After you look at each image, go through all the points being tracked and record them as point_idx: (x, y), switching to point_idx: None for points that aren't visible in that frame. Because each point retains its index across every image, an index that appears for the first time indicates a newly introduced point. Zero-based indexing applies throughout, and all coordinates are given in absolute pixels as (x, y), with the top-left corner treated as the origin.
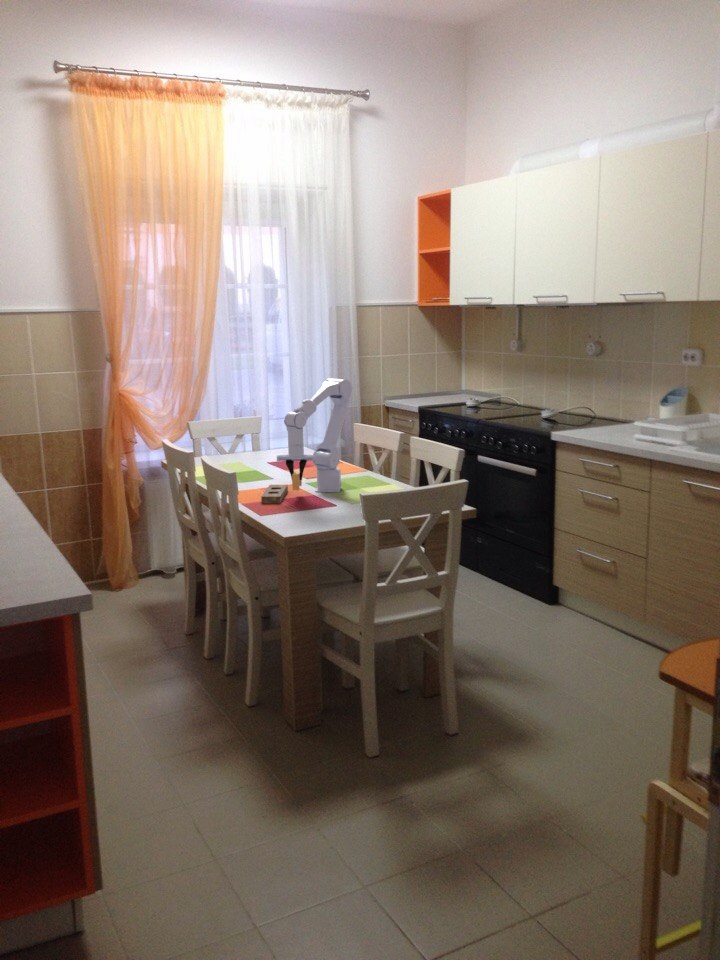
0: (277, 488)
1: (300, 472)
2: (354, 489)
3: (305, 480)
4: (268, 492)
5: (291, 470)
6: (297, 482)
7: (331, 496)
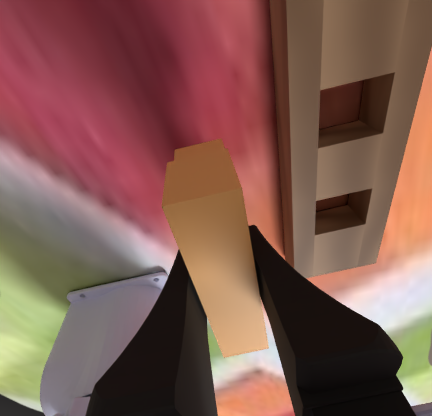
0: (334, 227)
1: (180, 285)
2: (46, 332)
3: (258, 359)
4: (387, 108)
5: (277, 281)
6: (176, 161)
7: (55, 235)
